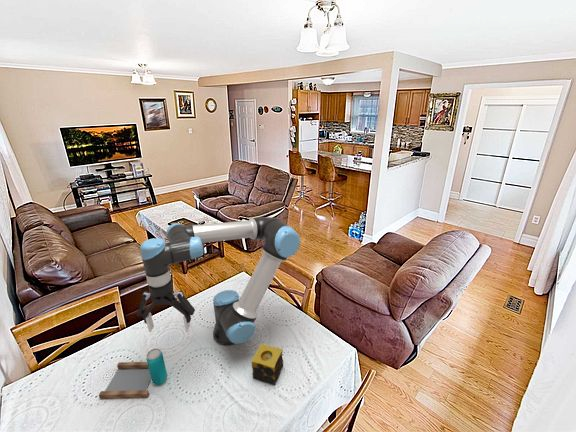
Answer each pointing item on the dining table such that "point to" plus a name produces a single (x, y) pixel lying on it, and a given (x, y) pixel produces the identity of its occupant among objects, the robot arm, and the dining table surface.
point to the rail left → (124, 394)
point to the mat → (130, 380)
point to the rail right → (132, 365)
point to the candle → (267, 364)
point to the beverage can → (156, 367)
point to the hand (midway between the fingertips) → (169, 328)
